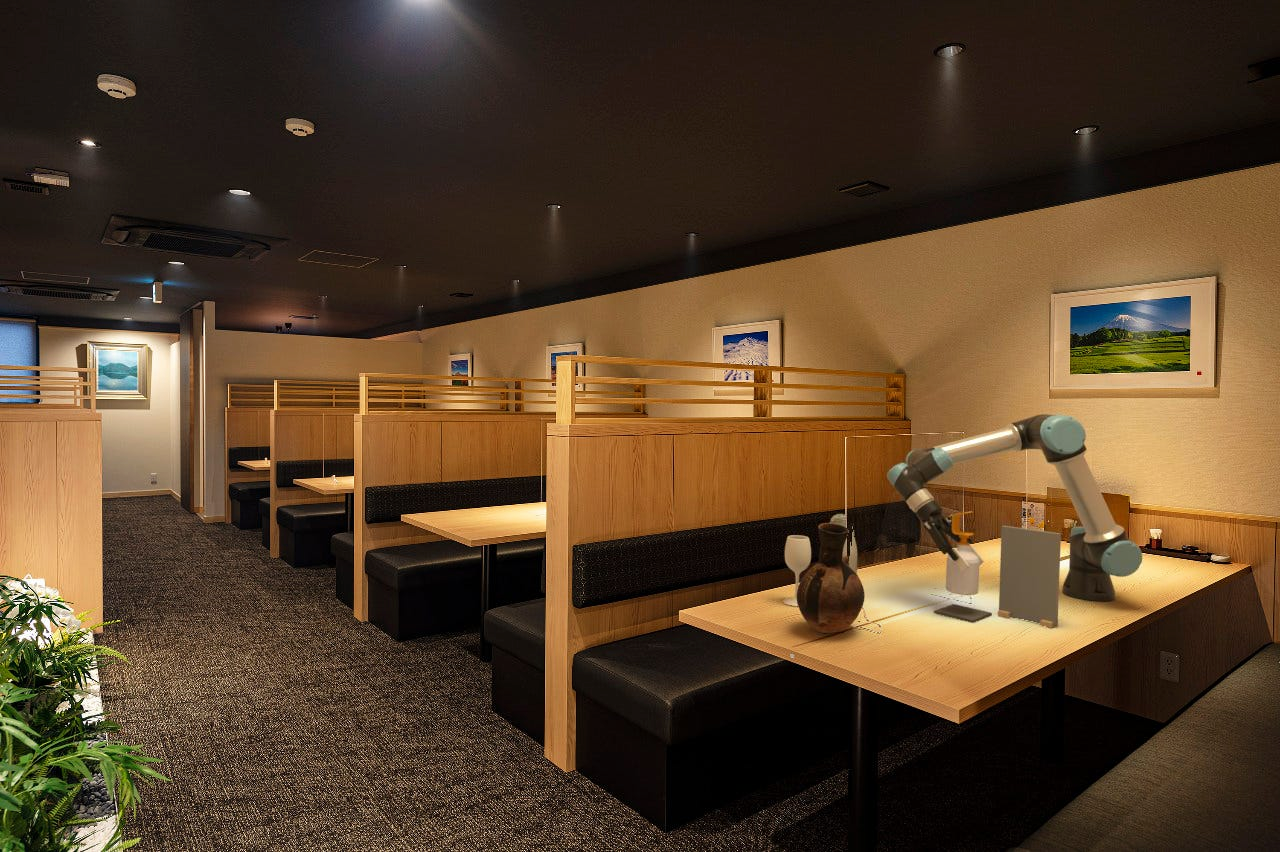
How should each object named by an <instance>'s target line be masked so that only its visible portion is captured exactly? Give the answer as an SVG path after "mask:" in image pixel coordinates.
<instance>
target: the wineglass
mask: <svg viewBox="0 0 1280 852" xmlns="http://www.w3.org/2000/svg"><path fill="white" fill-rule="evenodd" d="M811 560H812V547H811V541H810V538H809V537H808V536H805V535H799V534H798V535H797V534H796V535H795V534H794V535H788V536H787V538H786V541H785V545H784V562H785V564H786V566H787V567H788V569H790V570H791V571H792V572H794V576H795V590H794V591H795V592H794V596H793V597H788V598H785V599H783V600H782V603H783V602H784V603H785V605H786V604H788V605H787V606H790V605H792V606H791V607H797V606H798V604H797V590H798V587H799V584H800V574H801V573H802V572H803V571H805V570H806V569H808V567H809V566H810V564H811ZM784 603H783V604H784Z"/></svg>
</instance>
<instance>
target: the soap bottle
mask: <svg viewBox="0 0 1280 852" xmlns="http://www.w3.org/2000/svg"><path fill="white" fill-rule="evenodd" d="M970 513H973V511H972V510H971V511H964V512H959V513H954V514H953V515H952V517H951V518H952V533H953V534H956V535H959V537H960V538H961V542H958V543H957V548H956V550H957V551H958V552H959V553H960V555H961V556H962V557H963V558H964V560H965V561H966V562H967V563H968V565H969V567H967V568H966V569H965V570H964V571H961V570H960V569H959V567H958V566H957V565H956V564H955V562H954V561H953V560H952V559H951V557H950V556H949V555H948V554H947V556H946V573H945V574H946V576H945V590H946V591H947V592H949V593H952V594H955V595H962V596H974V595H976V594H978V593H979V588H980V586H979V583H980V581H979V580H980V565H979V559H978V557H977V556H976V555H975V554H973V553H972V552H971V551H970V550H969V546H970V545H969V544H970V543H968V542H967V538H970V537H972V536H974V533H973V532H966V531H963V530H962V531H963V532H962V531H960V528H961V527H960V525H961V521H960V520H961V516H962V515H966V514H970Z"/></svg>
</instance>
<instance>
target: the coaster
mask: <svg viewBox="0 0 1280 852" xmlns="http://www.w3.org/2000/svg"><path fill="white" fill-rule="evenodd" d="M934 613H936V614H935V615H940V616H943V615H944V616H943V617H948V618H951V617H952V618H951V619H955V618H956V620H959V619H960V621H963V620H964V621H963V622H967V621H968V623H971V624H974V623H977V622H978V621H981V620H984V619H986V618H988V617H991V616H992V615H993V614H992V613H993V612H991V611H987V610H982V609H977V608H973V607H969V606H964V605H959V604H956V603H951V604H950V605H947V606H943V607H941V608H938V609H936V610H934V611H933V614H934ZM976 621H977V622H976Z"/></svg>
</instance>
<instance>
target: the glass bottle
mask: <svg viewBox="0 0 1280 852" xmlns="http://www.w3.org/2000/svg"><path fill="white" fill-rule="evenodd" d="M846 515H847V514H846ZM846 515H845V514H844V513H837V514H835V515H833V516H832V517H831V518H830V521H829V523H835V524H839V525H842V526H844V527H846ZM852 529H853V526H852ZM854 536H855V529H854V530H853V532H852V546H851V542H850V556H849V566H850V567H851V568H852V569H853V570H854V571H855V572H856V574H857V573H858V547H857V541H856V537H854ZM844 556H846V541H845V544H844V548H843V557H844ZM857 575H858V574H857Z"/></svg>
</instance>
